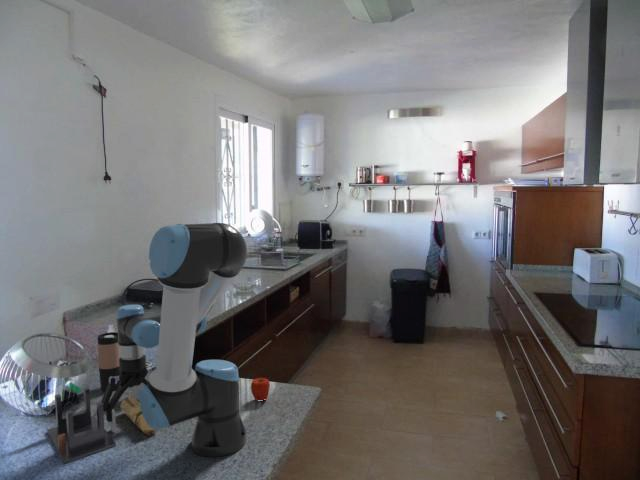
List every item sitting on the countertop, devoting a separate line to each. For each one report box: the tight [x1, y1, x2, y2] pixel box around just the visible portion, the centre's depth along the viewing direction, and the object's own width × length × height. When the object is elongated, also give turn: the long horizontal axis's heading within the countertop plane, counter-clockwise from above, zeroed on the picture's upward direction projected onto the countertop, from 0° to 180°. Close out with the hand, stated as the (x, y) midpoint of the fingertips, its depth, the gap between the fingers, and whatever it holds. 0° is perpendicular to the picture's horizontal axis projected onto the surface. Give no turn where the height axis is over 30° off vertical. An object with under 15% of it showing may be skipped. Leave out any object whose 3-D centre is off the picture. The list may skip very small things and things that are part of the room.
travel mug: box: [97, 331, 121, 393], centre depth 166 cm, size 8×8×20 cm
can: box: [131, 360, 153, 402], centre depth 159 cm, size 8×8×12 cm
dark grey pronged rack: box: [46, 386, 117, 465], centre depth 131 cm, size 22×13×12 cm, turn 41°
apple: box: [250, 377, 271, 401], centre depth 155 cm, size 6×6×8 cm
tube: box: [120, 396, 159, 437], centre depth 140 cm, size 20×5×5 cm, turn 41°
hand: (135, 423), depth 140 cm, fingers open, 12 cm apart
